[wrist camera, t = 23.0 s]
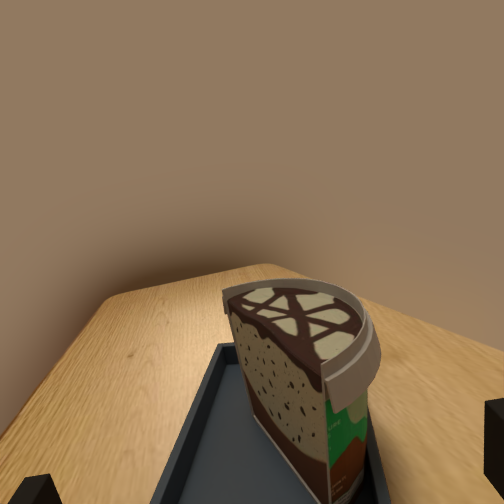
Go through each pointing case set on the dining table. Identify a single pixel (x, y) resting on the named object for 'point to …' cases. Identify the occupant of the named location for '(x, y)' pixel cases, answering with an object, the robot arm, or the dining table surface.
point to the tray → (240, 450)
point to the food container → (308, 377)
